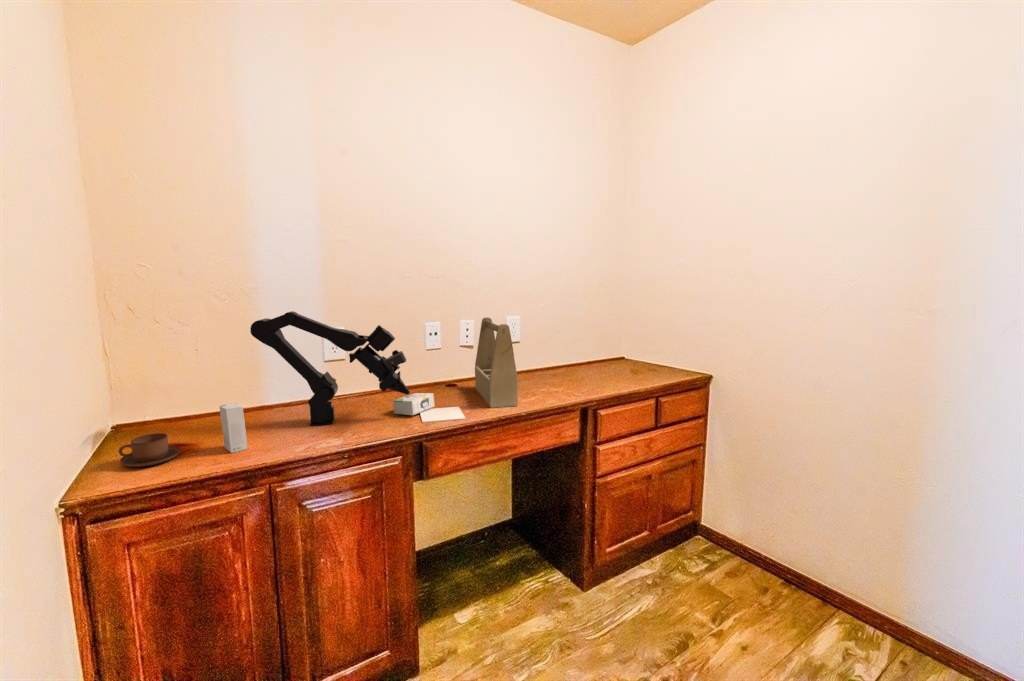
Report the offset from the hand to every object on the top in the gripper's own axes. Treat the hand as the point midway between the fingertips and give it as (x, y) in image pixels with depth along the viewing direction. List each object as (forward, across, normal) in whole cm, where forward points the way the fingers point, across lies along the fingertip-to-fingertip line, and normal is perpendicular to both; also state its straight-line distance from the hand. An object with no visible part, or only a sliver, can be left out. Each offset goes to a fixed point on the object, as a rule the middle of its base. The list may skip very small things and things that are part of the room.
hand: (408, 393), depth 153 cm
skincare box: (-26, -19, +39) cm, 51 cm away
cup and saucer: (-39, -24, +51) cm, 69 cm away
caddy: (+29, +20, -17) cm, 39 cm away
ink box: (+2, +2, +6) cm, 6 cm away
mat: (+13, +1, -2) cm, 13 cm away
